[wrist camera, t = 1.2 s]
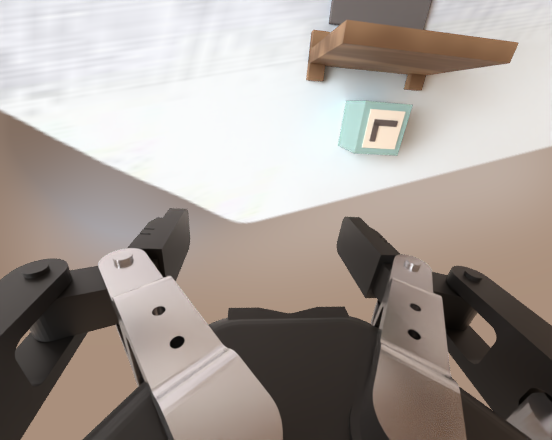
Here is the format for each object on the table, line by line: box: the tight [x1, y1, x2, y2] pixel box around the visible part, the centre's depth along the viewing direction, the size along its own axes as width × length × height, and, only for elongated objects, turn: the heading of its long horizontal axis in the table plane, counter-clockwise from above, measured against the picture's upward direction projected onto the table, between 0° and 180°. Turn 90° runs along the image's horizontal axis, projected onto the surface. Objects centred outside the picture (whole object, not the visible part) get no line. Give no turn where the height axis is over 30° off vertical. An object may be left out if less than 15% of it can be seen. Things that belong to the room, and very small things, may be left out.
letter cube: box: [338, 101, 413, 156], centre depth 31 cm, size 6×6×6 cm
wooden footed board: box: [306, 20, 518, 90], centre depth 25 cm, size 5×16×12 cm, turn 86°
